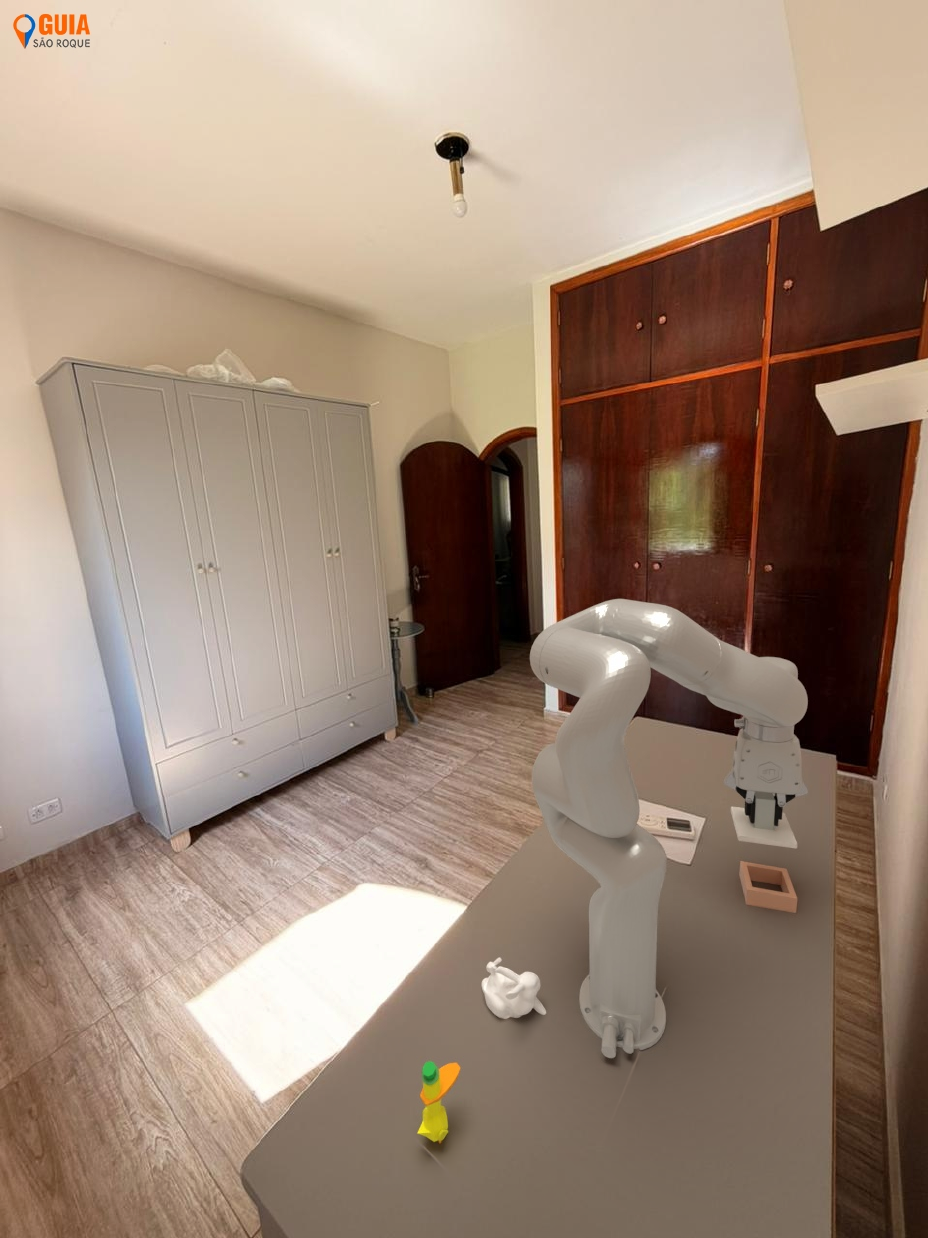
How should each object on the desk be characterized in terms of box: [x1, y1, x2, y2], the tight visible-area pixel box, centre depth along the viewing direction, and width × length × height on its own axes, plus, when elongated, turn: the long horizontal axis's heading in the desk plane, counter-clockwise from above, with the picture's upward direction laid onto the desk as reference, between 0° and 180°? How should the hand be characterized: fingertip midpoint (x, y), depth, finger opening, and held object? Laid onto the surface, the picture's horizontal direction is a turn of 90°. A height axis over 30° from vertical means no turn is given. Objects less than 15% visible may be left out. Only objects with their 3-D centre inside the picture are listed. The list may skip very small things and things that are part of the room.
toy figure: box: [416, 1060, 462, 1144], centre depth 61 cm, size 7×4×12 cm, turn 130°
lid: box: [730, 791, 798, 849], centre depth 91 cm, size 9×9×7 cm
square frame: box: [738, 860, 798, 914], centre depth 96 cm, size 8×8×4 cm
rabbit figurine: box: [481, 957, 547, 1020], centre depth 76 cm, size 12×8×10 cm, turn 52°
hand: (762, 819), depth 91 cm, fingers closed on lid, 3 cm apart
